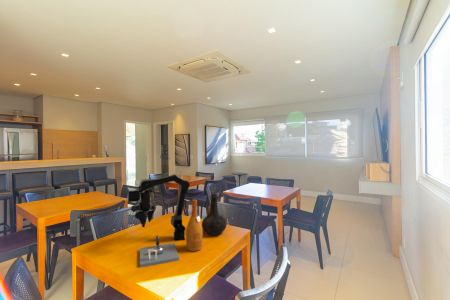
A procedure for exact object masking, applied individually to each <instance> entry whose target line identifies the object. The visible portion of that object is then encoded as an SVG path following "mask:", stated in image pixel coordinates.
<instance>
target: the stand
mask: <svg viewBox="0 0 450 300" xmlns="http://www.w3.org/2000/svg"><path fill="white" fill-rule="evenodd" d="M159 246H163V253H161V254H157V250H154V248H155V247H157V245H151V246H145V247H139V267H140V268H145V267H150V266H156V265H161V264H167V263H172V262H177V261H180V255H179V253H178V251H177V248H176V245H175V243H174V242H170V243H165V244H159ZM147 251H148V254H147ZM150 252H152V253H150ZM154 252H155V253H154Z"/></svg>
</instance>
